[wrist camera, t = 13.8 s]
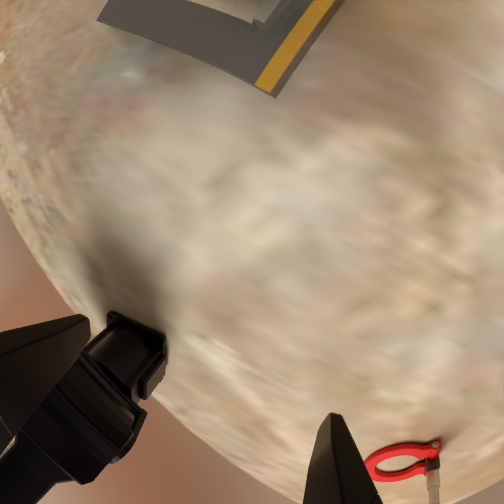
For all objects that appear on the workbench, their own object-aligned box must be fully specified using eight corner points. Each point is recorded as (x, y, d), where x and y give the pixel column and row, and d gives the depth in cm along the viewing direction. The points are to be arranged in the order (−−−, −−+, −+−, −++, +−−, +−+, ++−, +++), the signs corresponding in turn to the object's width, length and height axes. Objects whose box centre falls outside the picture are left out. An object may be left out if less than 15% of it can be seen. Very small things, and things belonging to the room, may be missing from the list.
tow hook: (363, 478, 29) (431, 468, 26) (351, 562, 17) (433, 552, 14) (362, 445, 27) (442, 433, 24) (350, 547, 15) (452, 533, 12)
